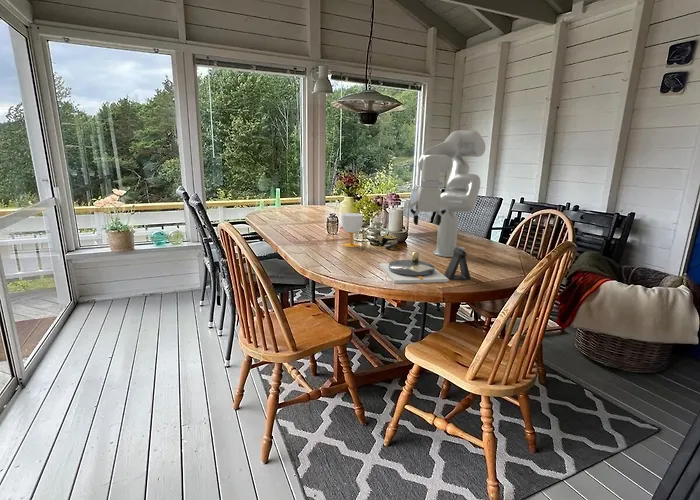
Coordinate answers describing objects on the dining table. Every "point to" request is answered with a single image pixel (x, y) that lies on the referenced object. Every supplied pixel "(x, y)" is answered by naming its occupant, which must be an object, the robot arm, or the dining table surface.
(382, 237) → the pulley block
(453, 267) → the dark grey a-frame stand
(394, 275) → the base
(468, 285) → the dining table surface
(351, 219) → the cup
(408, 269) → the disc
